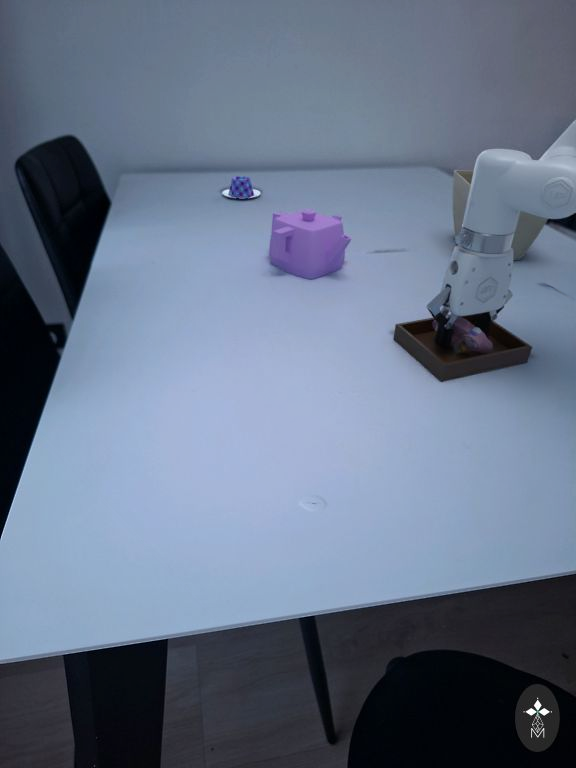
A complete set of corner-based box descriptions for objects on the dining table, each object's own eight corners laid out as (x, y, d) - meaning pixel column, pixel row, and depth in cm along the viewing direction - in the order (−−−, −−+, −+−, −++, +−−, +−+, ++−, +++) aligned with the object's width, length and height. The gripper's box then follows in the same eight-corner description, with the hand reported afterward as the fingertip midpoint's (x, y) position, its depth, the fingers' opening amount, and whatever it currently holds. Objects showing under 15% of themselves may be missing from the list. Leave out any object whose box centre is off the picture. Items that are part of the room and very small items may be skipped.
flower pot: (540, 266, 124) (563, 192, 114) (459, 264, 123) (476, 190, 114) (511, 239, 140) (529, 171, 130) (439, 237, 139) (452, 169, 130)
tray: (473, 324, 99) (476, 309, 97) (527, 362, 88) (532, 346, 86) (393, 339, 93) (395, 323, 92) (440, 381, 83) (444, 365, 81)
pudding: (220, 190, 171) (220, 173, 168) (257, 190, 173) (257, 173, 170) (223, 201, 161) (223, 183, 158) (263, 200, 163) (263, 182, 160)
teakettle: (269, 251, 127) (269, 198, 120) (339, 252, 128) (344, 200, 121) (268, 280, 113) (269, 222, 106) (348, 281, 114) (353, 224, 107)
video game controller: (431, 344, 94) (426, 318, 89) (447, 328, 95) (443, 300, 90) (479, 369, 88) (476, 341, 83) (496, 350, 89) (494, 322, 84)
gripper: (452, 254, 74) (430, 362, 84) (548, 241, 80) (516, 344, 90) (422, 237, 80) (404, 340, 90) (513, 226, 85) (487, 324, 95)
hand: (460, 341), depth 90 cm, fingers closed on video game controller, 7 cm apart
